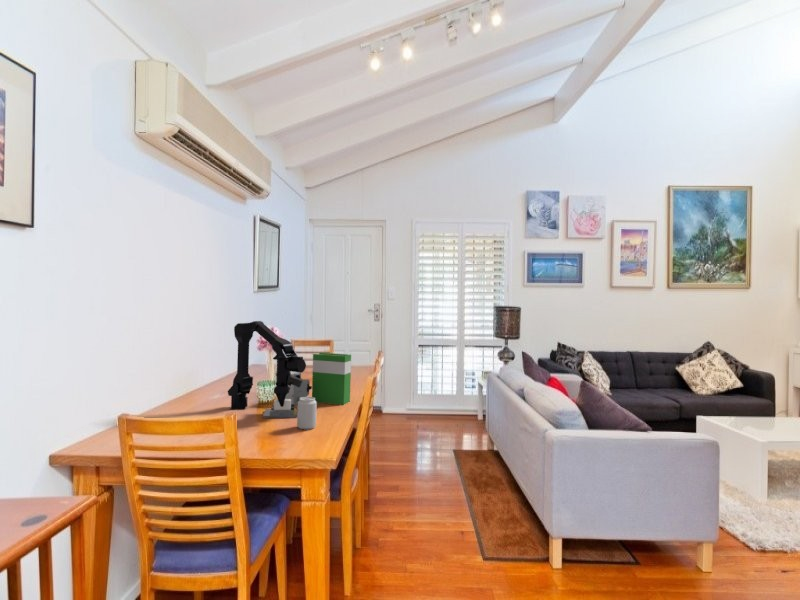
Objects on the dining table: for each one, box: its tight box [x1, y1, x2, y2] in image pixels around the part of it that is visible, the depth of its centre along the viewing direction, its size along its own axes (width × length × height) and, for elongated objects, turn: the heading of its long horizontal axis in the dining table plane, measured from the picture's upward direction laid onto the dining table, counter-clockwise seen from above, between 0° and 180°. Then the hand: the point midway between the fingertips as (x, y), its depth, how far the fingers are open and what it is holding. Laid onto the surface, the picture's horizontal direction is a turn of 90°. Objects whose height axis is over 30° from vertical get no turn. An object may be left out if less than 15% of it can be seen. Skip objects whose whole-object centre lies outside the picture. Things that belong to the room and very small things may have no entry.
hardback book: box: [311, 352, 352, 406], centre depth 228 cm, size 18×7×24 cm, turn 72°
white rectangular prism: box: [273, 398, 291, 410], centre depth 198 cm, size 7×3×4 cm, turn 101°
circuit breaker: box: [285, 371, 312, 406], centre depth 223 cm, size 8×14×15 cm, turn 89°
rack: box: [262, 403, 298, 419], centre depth 201 cm, size 16×13×3 cm
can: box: [296, 396, 318, 431], centre depth 181 cm, size 8×8×12 cm
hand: (282, 405), depth 198 cm, fingers closed on white rectangular prism, 3 cm apart
